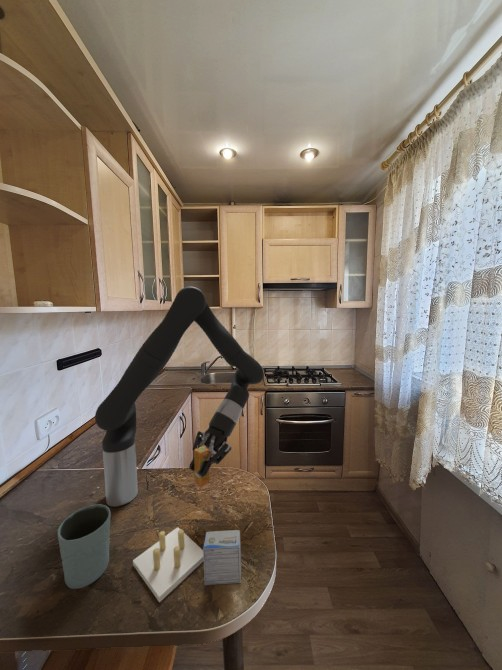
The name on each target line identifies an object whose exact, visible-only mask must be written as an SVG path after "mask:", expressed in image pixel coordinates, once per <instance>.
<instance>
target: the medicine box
mask: <svg viewBox="0 0 502 670" xmlns="http://www.w3.org/2000/svg"><path fill="white" fill-rule="evenodd" d="M202 546H203V547H202V550H203V559H204V561H203V575H204V580H203V581H204V586H215V585H226V584H227V585H228V584H241V583H242V553H241V551H242V550H241V549H242V545H241V531H240V529H235V530H234V529H232V530H215V531H206V532H205V536H204V542H203V545H202Z"/></svg>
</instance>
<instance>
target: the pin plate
mask: <svg viewBox="0 0 502 670" xmlns="http://www.w3.org/2000/svg"><path fill="white" fill-rule="evenodd" d="M158 539H159V540H158V541H157V542H156V543H154V544H153V545H151V546H150V547H149V548H148V549H146V550H145V551H143V552H142V553H141V554H139V555H138V556H137V557H136V558H134V559H133V560H132V566H133V567H134V569H135V570H136V571H137V573H138V575H139V576H140V577H141V579H142V580H143V581H144V583H145V584H146V586H147V587H148V589H149V590H150V591H151V593H152V594H153V596H155V599H156V600H157V601H158V602H159V603H161V602H162V601H163V600H164V599H165V598H166V597H167V596H169V594H170V593H171V592H172V591H174V590H175V589H176V588H177V587H178V586H179V585H180V584H181V583H182V582H183V581H184V580H185V579H186V578H187V577H188V576H189V575H191V573H193V572H194V571H196V569H197V568H198V567H199V566H200V565H201V564H202V563H204V559H203V548H201V547H200V546H199V545H198V544H197V543H196V542H195V541H193V540H192V538H191V537H189V536H188V535H187V534H186V533H185V530H184V529H181V528H179V526H177V527H176V528H174V529H173V530H171V531H170V532H169V533H168V534H166V532H165V531H164V530H162V531H160V532H159V533H158Z"/></svg>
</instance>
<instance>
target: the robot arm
mask: <svg viewBox="0 0 502 670" xmlns="http://www.w3.org/2000/svg"><path fill="white" fill-rule="evenodd" d="M193 323H196V324H197V325H198V326H199V328H201V330H202V332H204V334H205V335H206V336H207V338H208V339H209V341H210V342H211V344H212V345H213V346H214V347H213V348H215V350H216V351H217V352H218V353H219V354H220V356H221V358H223V359H224V361H225V362H226V363H227V364H228V365H229V366H230V367H235V368H236V371H235V372H234V375H233V377H232V381H231V384H230V388H229V390H228V391H227V393H226V395H225V397H223V400H222V401H221V402H220V404H219V406H218V407H217V408H216V410H215V412H214V413H213V416H212V418H211V419H210V421H209V423H208V425H209V426H208V428H207V429H206V430H205V431H204V432H203V431H202V432H201V430H199V431H198V432H197V433H196V436H195V439H194V443H193V447H192V451H193V452H194V450H195V449H197V448H200V447H202V446H205V447H206V448H208V450H209V453H208V455H207V458H206V461H204V463H203V464H202V466H201V468H200V470H199V472H198V474H199V475H200V476H202V477H204V476H205V475H206V474H207V472H208V470H209V471H210V468H211V466H212V465H213V464H216V465H219V464H220V462H221V461H222V460H224V458H225V457H226V456H227V455H228V454H229V453H230V452H231V450H232V446H231V445H229V444H228V438H229V437H231V435H232V433H233V431H234V429H235V427H236V425H237V423H238V422H239V419H240V417H241V415H242V413H243V410H244V408H245V406H246V404H247V402H248V400H249V397H250V393H249V391H248V388H249V386H250V385H257V384H259V383H261V382H262V381H263V379H264V377H265V374H264V373H265V372H264V369H263V367H262V365H261V364H260V363H259V362H258V361H257V360H256V359H255V358H253V357H252V355H250V354H249V353H247V352H246V351H245V350H244V349H243V347H242V346H241V344H239V342H238V341H237V339H235V338H234V336H233V334H232V333H230V331H228V330H227V328H225V326H224V325H223V324H222V323H221V322H220V321H219V319H218V317H217V316H216V315H215V313H214V312H213V311H212V310H211V307H210V305H209V304H208V302H207V299H206V295H205V294H204V292H203V291H202V290H201V289H200V288H198V287H194V286H185V287H183V288H181V289H180V290H179V291H178V292H177V294H176V295H175V297H174V300H173V301H172V303H171V306H170V307H169V309H168V311H167V312H166V314H165V316H164V318H163V319H162V321H161V322H160V323H159V324H158V326H157V327H156V328H155V329H154V330H153V331H152V333H150V335H149V336H148V337H147V338H146V340H145V341H144V342H143V343H142V345H141V346H140V348H139V349H138V351H137V352H136V353H135V355H134V357H133V359H132V360H131V362H130V363H129V364H128V366H127V368H126V370H125V371H124V372H123V375H122V376H121V378H120V380H119V381H118V383H117V384H116V385H115V387H113V389H112V391H110V393H109V394H108V395H107V396H106V397H105V398H104V400H103V401H102V402H101V403H100V404H99V405H98V407H97V409H96V410H95V414H94V415H95V416H94V419H95V420H94V421H95V424H96V425H97V427H99V429H101V430H103V431H105V435H104V437H103V439H102V442H101V446H102V460H103V461H102V462H103V473H104V475H103V476H104V487H105V503H106V504H107V505H108V507H120V506H123V505H126V504H128V503H130V502H132V501H133V500H134V499H135V498H136V497H137V496H138V493H139V487H138V485H139V484H138V472H137V471H138V470H137V455H136V454H137V453H136V434H137V433H136V432H137V407H136V401H137V400H138V398H139V397H140V395H141V394H142V393H143V392H144V391H145V390H146V389H147V388H148V387H149V386H150V385H151V384H152V383H153V382H154V381H155V379H156V378H157V377H158V376H159V375H160V373H161V372H162V371H163V370H164V368H165V367H166V365H167V364H168V362H169V361H170V360H171V358H172V356H173V354H174V353H175V351H176V350H177V347H178V345H179V344H180V341H181V339H182V337H183V336H184V334H185V333H186V331H187V330H188V328H189V327H190V326H191V325H192V324H193ZM189 470H191V471H192V472H194V457H193V458H192V460H191V461H190V463H189Z"/></svg>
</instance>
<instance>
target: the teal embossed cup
mask: <svg viewBox="0 0 502 670" xmlns="http://www.w3.org/2000/svg"><path fill="white" fill-rule="evenodd" d="M111 514H112V513H111V509H110V508H109V506H107V505H106V504H103V503H99V504H98V503H96V504H91V505H90V504H89V505H87V506H84V507H81V508H80V509H77V510H76V511H74V512H72V513H71V514H69V515H68V516H67V517H66V518H65V519H64V520H63V521H62V522H61V523H60V525H59V527H58V529H57V539H58V540H57V541H58V544H59V545H58V546H59V553H60V558H61V560H62V561H61V565H62V571H63V576H64V578H63V579H64V583H65V585H66V586H67V587H68V588H69V589H72V590H76V589H83V588H85V587H87V586H89V585H92V584H93V583H94V582H95V581H97V580H98V579H99V578H100V577H101V576H102V575H103V574H104V572H106V570H107V569H108V566H109V563H110V537H111V535H110V533H111V517H112V516H111Z"/></svg>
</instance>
